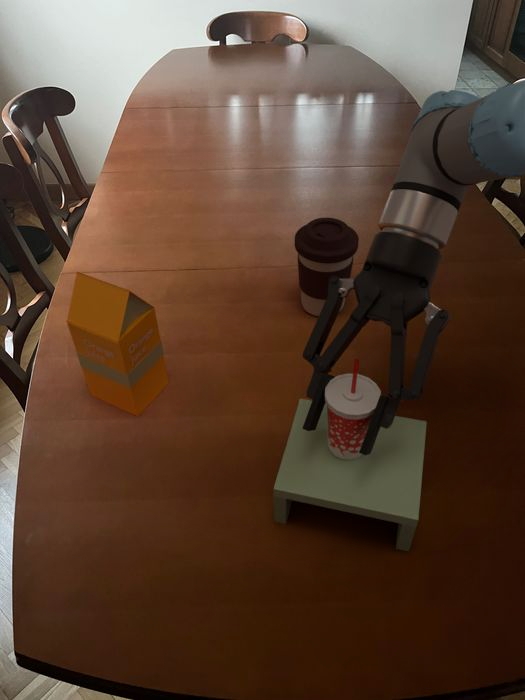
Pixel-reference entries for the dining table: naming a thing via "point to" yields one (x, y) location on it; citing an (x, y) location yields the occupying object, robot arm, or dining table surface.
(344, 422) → the beverage cup
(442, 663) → the dining table surface
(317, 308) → the coffee cup
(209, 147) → the dining table surface
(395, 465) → the shelf
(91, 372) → the orange juice
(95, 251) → the dining table surface
